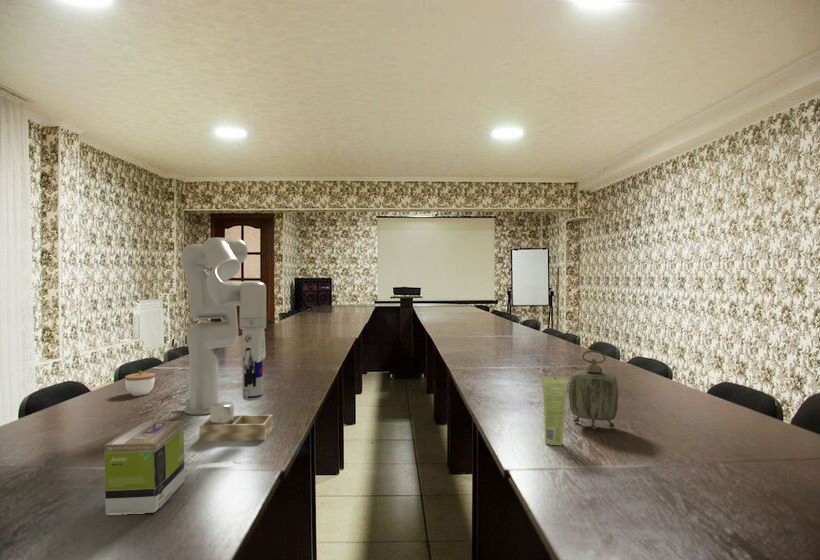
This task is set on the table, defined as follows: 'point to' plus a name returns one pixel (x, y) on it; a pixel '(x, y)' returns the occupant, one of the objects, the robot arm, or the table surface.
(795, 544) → the table surface
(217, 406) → the grey rounded cylinder
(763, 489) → the table surface
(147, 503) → the tea box
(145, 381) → the lidded jar
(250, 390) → the beverage can
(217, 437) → the caddy
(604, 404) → the tabletop clock
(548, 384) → the tube
